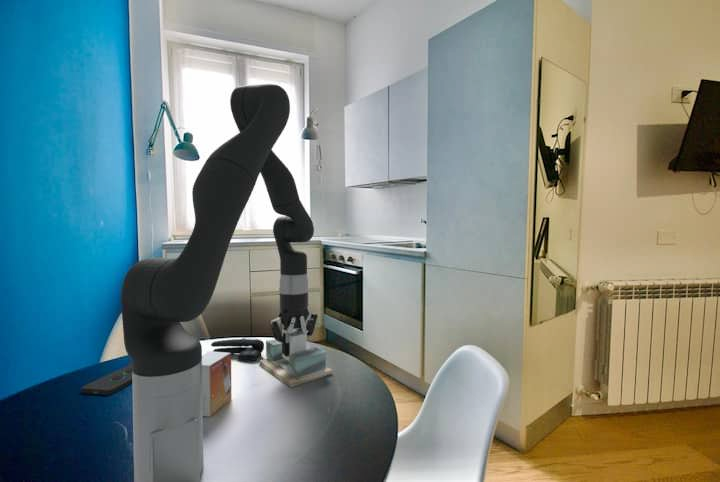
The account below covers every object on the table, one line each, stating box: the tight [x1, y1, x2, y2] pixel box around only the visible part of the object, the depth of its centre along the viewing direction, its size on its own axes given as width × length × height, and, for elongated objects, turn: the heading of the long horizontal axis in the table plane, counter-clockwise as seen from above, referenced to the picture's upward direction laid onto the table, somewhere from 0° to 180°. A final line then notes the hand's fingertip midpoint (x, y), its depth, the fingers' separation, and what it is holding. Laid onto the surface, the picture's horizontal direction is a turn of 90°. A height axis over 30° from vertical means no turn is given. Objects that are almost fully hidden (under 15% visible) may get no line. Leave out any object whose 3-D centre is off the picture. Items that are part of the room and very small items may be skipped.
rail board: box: [259, 338, 333, 388], centre depth 93 cm, size 18×12×6 cm, turn 40°
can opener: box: [210, 337, 265, 362], centre depth 104 cm, size 18×7×6 cm, turn 72°
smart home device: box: [81, 363, 132, 396], centre depth 89 cm, size 8×2×20 cm
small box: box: [202, 350, 232, 418], centre depth 73 cm, size 8×6×10 cm
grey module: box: [282, 328, 307, 361], centre depth 93 cm, size 4×6×7 cm, turn 40°
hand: (294, 353), depth 93 cm, fingers closed on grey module, 4 cm apart
